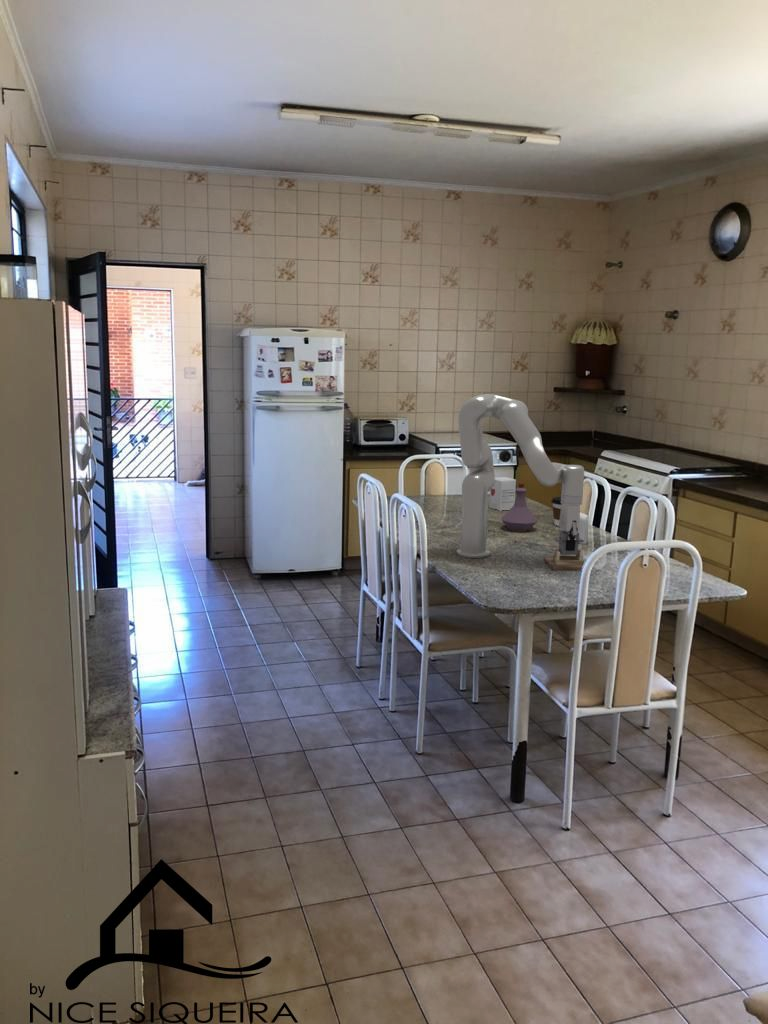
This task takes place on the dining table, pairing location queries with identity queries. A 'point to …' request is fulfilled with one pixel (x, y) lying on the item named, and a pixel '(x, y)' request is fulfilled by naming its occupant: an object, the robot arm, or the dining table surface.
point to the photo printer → (583, 527)
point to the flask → (519, 513)
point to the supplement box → (503, 493)
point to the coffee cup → (556, 509)
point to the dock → (565, 561)
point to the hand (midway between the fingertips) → (568, 548)
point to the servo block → (562, 543)
